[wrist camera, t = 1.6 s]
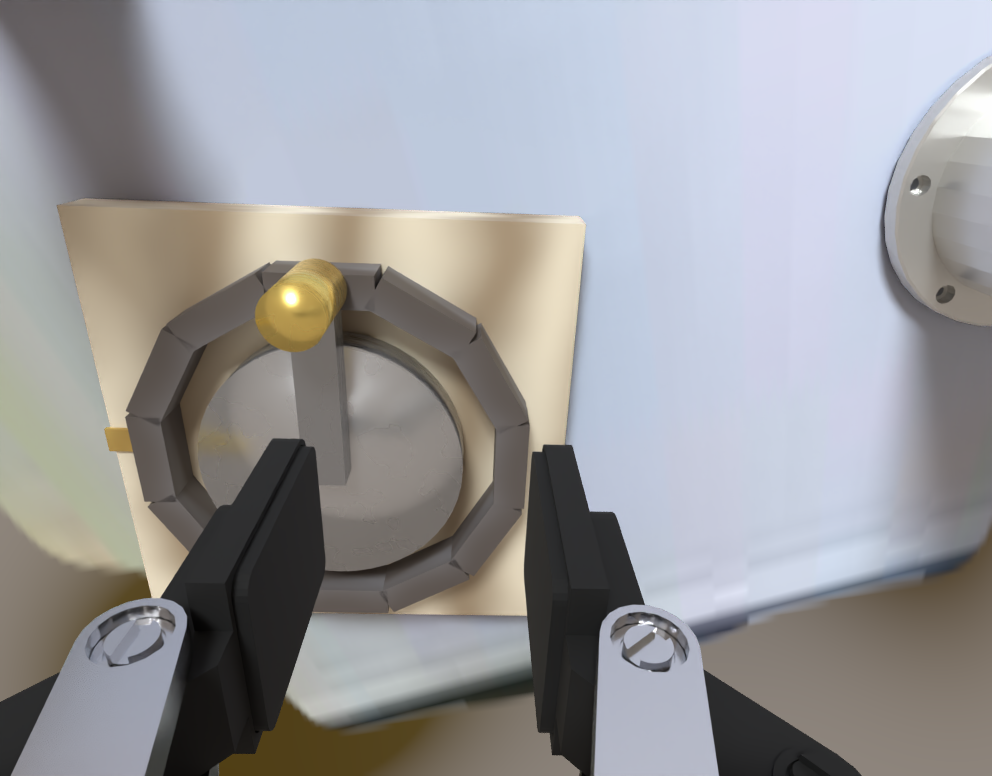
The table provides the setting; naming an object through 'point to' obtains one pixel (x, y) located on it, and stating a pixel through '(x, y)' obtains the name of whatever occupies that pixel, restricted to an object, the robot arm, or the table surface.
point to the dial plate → (367, 310)
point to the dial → (339, 423)
